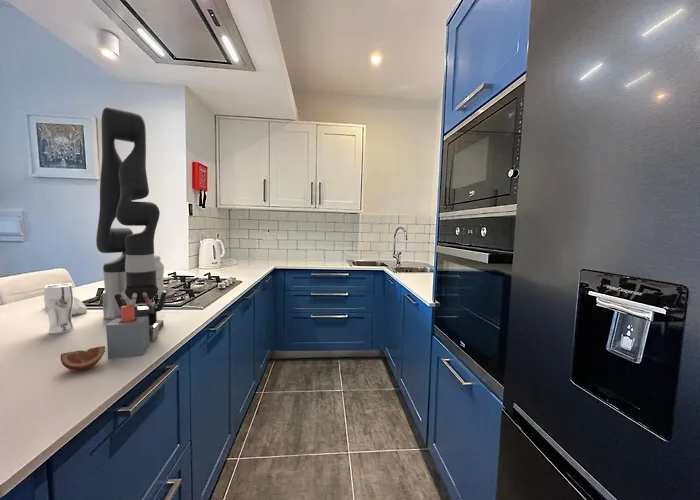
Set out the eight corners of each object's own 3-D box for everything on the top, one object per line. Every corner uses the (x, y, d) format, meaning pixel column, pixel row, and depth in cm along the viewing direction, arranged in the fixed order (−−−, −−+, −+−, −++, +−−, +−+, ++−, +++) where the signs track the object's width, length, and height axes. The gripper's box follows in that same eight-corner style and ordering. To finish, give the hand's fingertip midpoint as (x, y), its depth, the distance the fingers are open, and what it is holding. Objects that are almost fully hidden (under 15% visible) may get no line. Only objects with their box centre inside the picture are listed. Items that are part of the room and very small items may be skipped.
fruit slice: (105, 359, 83) (104, 341, 82) (107, 368, 78) (106, 349, 77) (61, 369, 77) (60, 349, 77) (61, 379, 72) (59, 358, 72)
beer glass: (80, 328, 105) (77, 284, 104) (55, 335, 98) (52, 288, 97) (67, 326, 107) (64, 282, 106) (41, 333, 101) (37, 286, 99)
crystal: (94, 303, 123) (71, 294, 136) (73, 297, 117) (52, 288, 130) (83, 321, 120) (61, 311, 133) (62, 316, 115) (40, 306, 128)
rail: (130, 347, 90) (129, 341, 90) (150, 326, 108) (150, 320, 108) (146, 346, 91) (145, 339, 91) (163, 325, 109) (163, 319, 109)
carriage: (128, 343, 92) (126, 311, 91) (135, 336, 98) (134, 305, 97) (153, 341, 94) (152, 309, 93) (159, 334, 100) (157, 304, 99)
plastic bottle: (158, 301, 140) (156, 257, 139) (145, 300, 142) (143, 256, 140) (169, 298, 147) (167, 255, 145) (156, 297, 148) (154, 255, 146)
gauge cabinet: (107, 358, 83) (106, 325, 82) (117, 349, 89) (115, 318, 88) (142, 355, 85) (141, 322, 85) (149, 346, 91) (148, 316, 90)
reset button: (120, 333, 85) (118, 308, 84) (124, 330, 87) (123, 305, 87) (133, 332, 85) (131, 307, 85) (136, 329, 88) (135, 304, 88)
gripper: (170, 266, 99) (172, 319, 101) (118, 268, 95) (120, 323, 97) (164, 270, 92) (166, 327, 94) (107, 272, 88) (110, 331, 90)
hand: (143, 325), depth 95 cm, fingers closed on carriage, 4 cm apart
